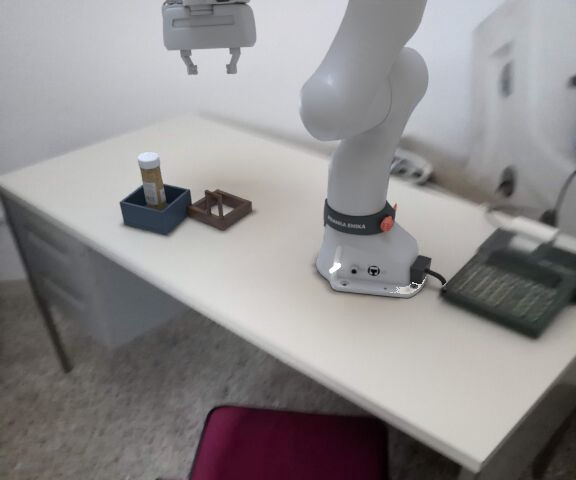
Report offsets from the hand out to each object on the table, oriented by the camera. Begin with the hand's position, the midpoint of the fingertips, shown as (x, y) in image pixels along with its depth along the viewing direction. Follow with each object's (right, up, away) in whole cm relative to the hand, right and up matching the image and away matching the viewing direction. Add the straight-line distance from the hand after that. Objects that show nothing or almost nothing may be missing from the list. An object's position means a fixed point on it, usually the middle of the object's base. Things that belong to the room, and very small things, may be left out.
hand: (212, 74), depth 123 cm
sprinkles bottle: (-14, -26, +11) cm, 31 cm away
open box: (-14, -27, +12) cm, 32 cm away
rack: (0, -25, +13) cm, 28 cm away
